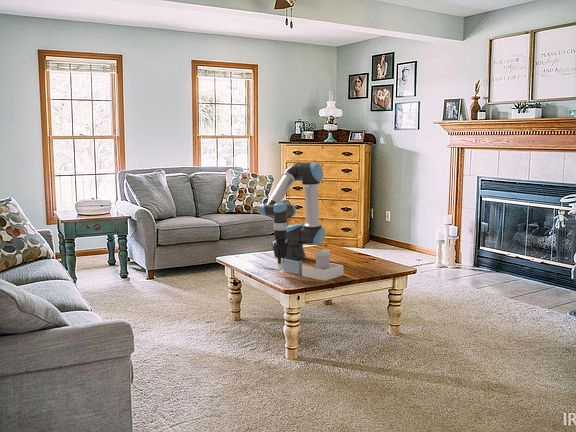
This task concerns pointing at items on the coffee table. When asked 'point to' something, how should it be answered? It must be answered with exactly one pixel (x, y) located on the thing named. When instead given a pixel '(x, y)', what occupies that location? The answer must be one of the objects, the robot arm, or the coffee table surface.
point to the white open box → (322, 272)
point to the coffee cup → (322, 259)
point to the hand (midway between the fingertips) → (280, 268)
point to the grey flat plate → (291, 266)
